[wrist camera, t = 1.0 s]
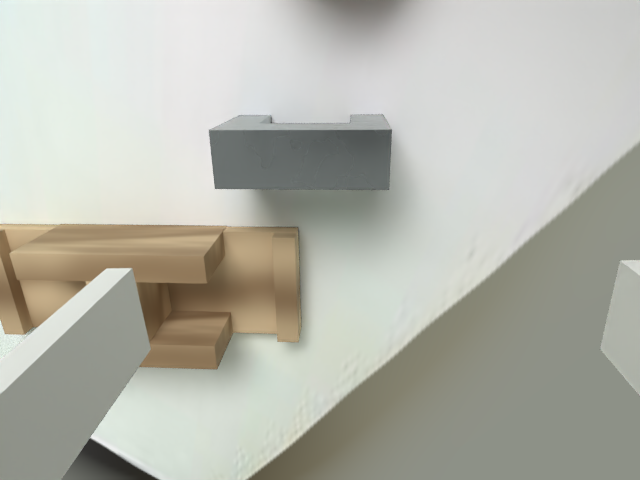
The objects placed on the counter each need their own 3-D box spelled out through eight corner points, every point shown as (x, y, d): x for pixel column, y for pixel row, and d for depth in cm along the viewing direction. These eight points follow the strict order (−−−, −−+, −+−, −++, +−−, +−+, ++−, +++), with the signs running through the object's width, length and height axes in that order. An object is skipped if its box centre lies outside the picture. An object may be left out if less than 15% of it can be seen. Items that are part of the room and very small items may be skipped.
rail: (-6, 223, 32) (-69, 252, 27) (298, 226, 31) (288, 257, 26) (23, 320, 35) (-29, 361, 30) (301, 327, 34) (293, 371, 29)
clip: (239, 115, 28) (209, 130, 22) (382, 114, 28) (391, 129, 22) (242, 162, 29) (214, 188, 23) (381, 162, 29) (388, 189, 23)
